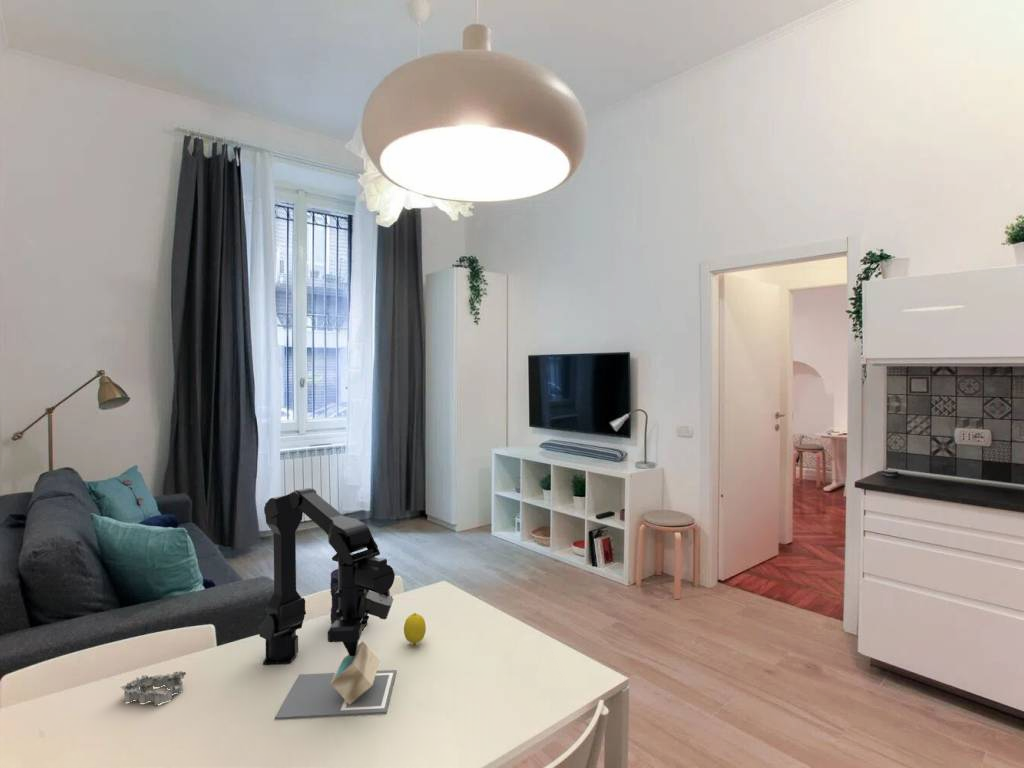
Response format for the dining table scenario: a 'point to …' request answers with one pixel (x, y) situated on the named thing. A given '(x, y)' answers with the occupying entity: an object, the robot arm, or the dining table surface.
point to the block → (355, 673)
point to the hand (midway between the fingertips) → (352, 655)
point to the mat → (334, 697)
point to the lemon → (414, 628)
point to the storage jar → (335, 599)
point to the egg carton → (147, 685)
